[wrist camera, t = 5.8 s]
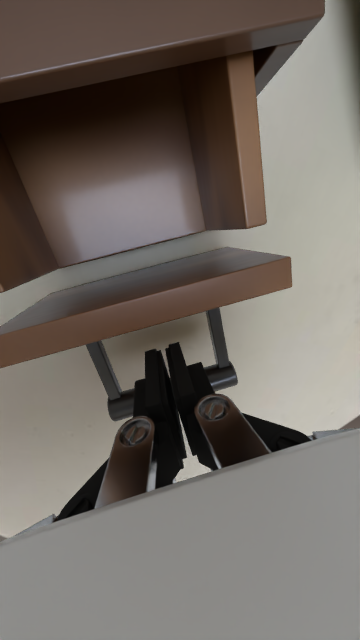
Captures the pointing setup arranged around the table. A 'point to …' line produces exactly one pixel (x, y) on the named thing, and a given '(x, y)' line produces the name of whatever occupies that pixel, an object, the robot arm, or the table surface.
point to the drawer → (133, 208)
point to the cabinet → (141, 38)
